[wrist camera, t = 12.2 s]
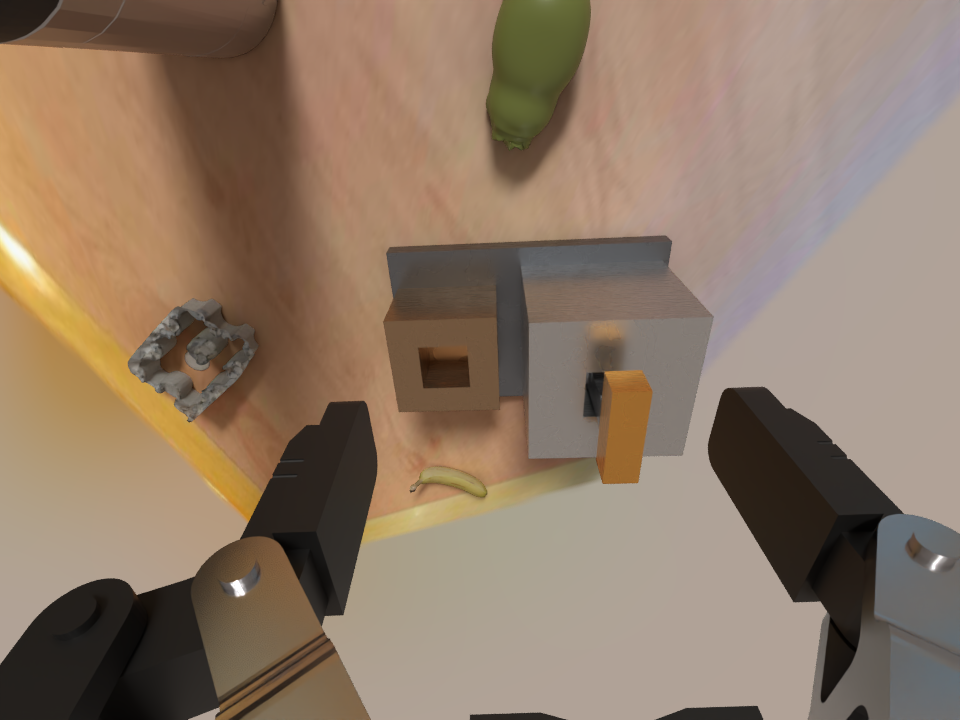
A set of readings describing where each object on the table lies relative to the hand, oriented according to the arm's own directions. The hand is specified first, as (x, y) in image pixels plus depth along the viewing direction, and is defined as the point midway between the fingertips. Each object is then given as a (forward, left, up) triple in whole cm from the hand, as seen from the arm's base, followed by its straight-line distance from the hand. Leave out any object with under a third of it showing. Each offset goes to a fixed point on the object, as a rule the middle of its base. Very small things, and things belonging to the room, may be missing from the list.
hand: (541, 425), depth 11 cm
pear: (+2, +7, -29) cm, 30 cm away
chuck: (+1, -12, -29) cm, 31 cm away
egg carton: (-28, -13, -29) cm, 43 cm away
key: (+6, -12, -21) cm, 25 cm away
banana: (-7, -30, -29) cm, 42 cm away
